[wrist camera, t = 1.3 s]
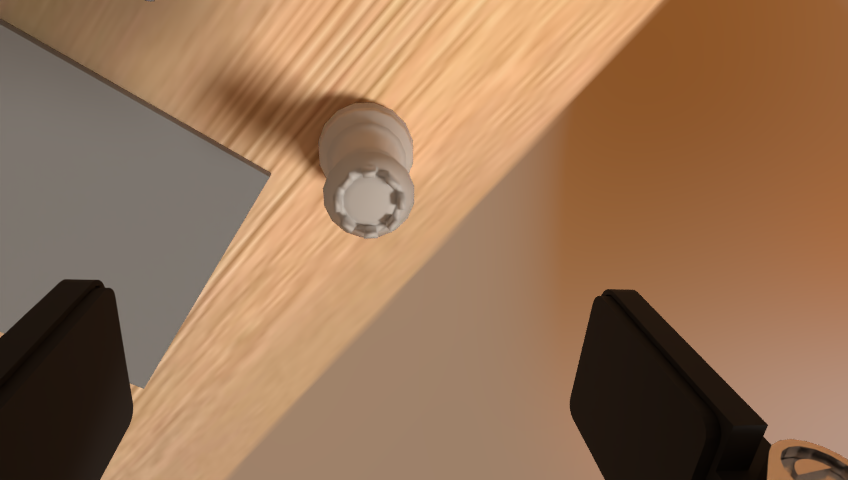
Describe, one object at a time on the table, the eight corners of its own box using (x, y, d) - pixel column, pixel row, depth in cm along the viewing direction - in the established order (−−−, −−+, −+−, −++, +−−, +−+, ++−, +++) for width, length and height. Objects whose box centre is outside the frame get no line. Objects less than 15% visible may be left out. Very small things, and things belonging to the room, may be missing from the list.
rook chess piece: (298, 136, 25) (275, 190, 18) (377, 80, 24) (386, 113, 17) (355, 209, 27) (355, 285, 19) (430, 159, 26) (458, 219, 19)
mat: (-52, -11, 21) (-63, -12, 21) (271, 173, 25) (269, 176, 25) (-148, 262, 25) (-160, 268, 24) (147, 381, 29) (143, 388, 29)
